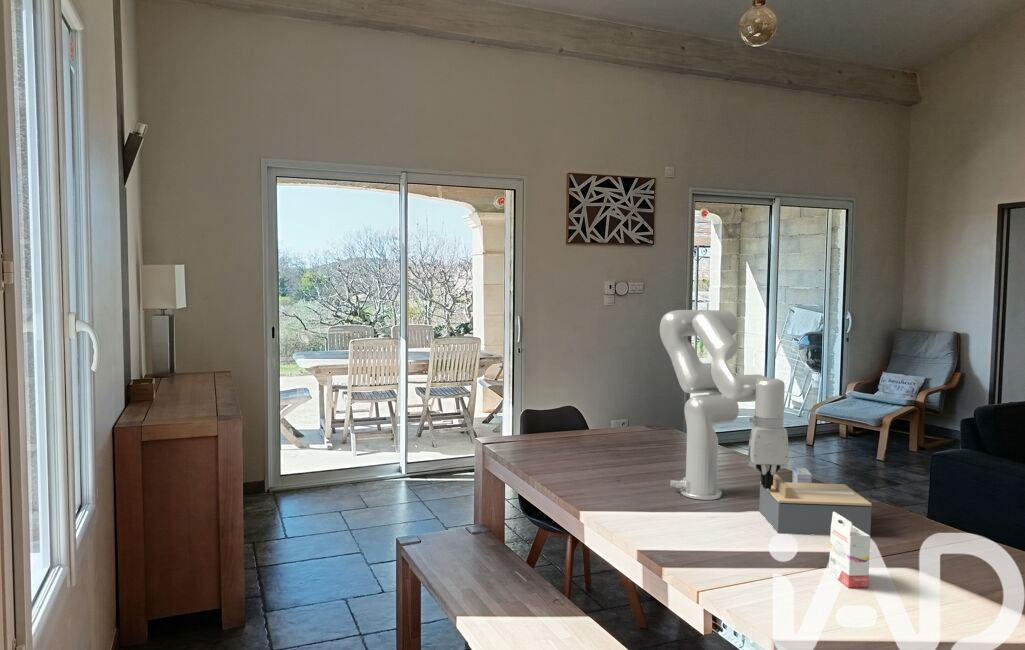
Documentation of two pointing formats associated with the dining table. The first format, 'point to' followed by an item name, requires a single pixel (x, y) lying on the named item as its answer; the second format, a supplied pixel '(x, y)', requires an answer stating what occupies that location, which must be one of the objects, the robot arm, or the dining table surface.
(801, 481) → the medicine box
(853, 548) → the ink cartridge box
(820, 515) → the box
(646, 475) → the dining table surface
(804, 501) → the lid
